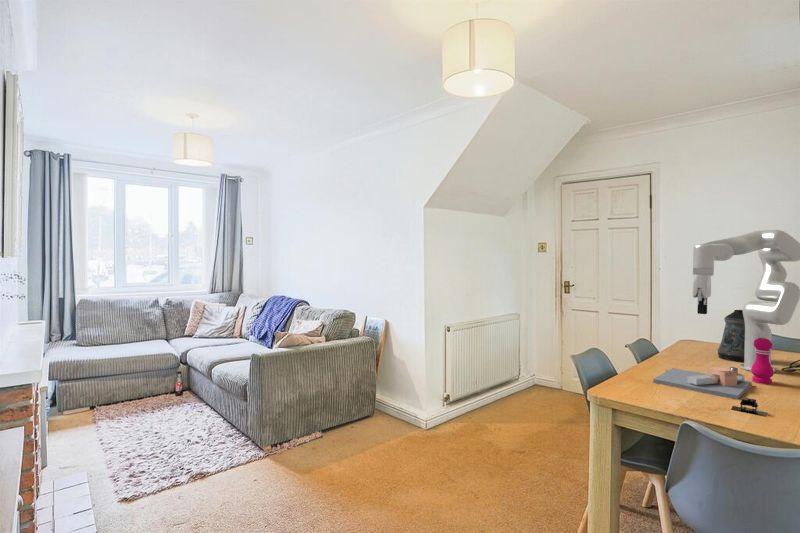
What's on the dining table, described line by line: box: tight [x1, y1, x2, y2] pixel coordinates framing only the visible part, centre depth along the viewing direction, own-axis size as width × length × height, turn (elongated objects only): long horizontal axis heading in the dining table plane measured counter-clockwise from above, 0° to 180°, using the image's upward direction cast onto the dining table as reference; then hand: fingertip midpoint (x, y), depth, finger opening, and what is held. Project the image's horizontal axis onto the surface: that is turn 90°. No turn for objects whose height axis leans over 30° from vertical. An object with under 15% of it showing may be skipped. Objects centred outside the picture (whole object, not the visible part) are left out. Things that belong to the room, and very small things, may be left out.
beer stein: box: [717, 309, 745, 364], centre depth 219 cm, size 16×19×25 cm
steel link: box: [687, 366, 746, 385], centre depth 172 cm, size 24×6×5 cm, turn 104°
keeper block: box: [707, 366, 737, 386], centre depth 172 cm, size 6×7×7 cm
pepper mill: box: [750, 334, 775, 385], centre depth 179 cm, size 7×7×20 cm
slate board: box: [652, 367, 753, 400], centre depth 176 cm, size 26×28×2 cm
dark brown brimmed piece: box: [730, 396, 769, 418], centre depth 145 cm, size 12×7×5 cm, turn 46°
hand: (702, 313), depth 189 cm, fingers closed
